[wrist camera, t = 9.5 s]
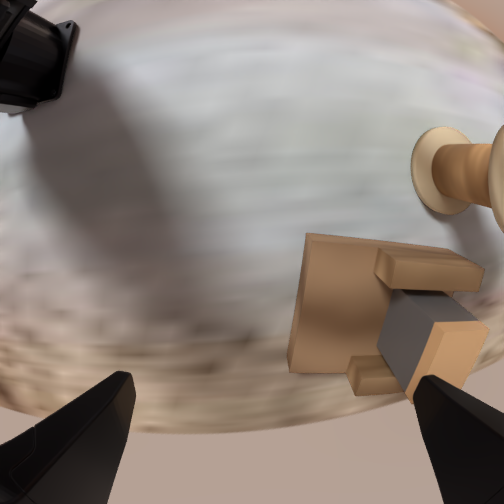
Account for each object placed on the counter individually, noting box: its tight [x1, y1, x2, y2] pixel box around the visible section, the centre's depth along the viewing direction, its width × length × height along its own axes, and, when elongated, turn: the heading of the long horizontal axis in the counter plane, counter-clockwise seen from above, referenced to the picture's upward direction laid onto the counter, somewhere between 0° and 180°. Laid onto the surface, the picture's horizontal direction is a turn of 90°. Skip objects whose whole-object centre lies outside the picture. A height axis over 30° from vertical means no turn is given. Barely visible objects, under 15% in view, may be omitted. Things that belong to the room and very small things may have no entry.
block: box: [376, 289, 490, 404], centre depth 15 cm, size 4×4×6 cm
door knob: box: [411, 125, 504, 233], centre depth 13 cm, size 6×6×8 cm
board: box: [287, 233, 485, 396], centre depth 17 cm, size 9×11×4 cm
